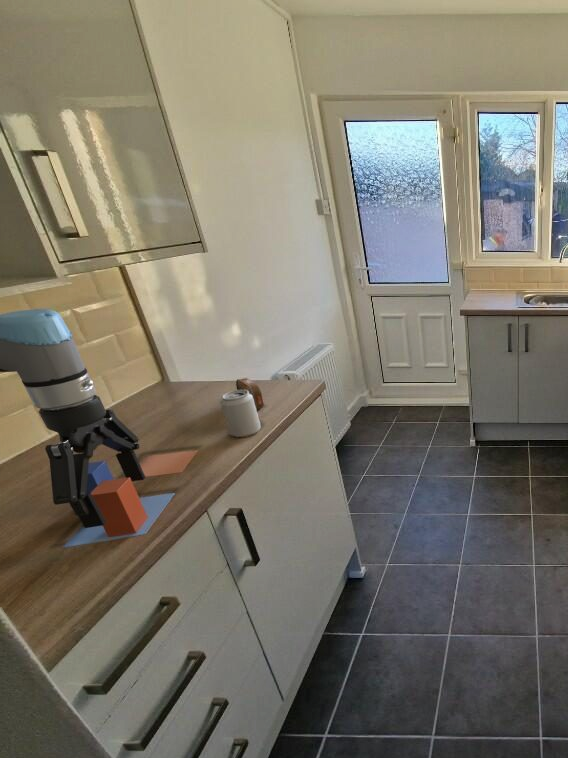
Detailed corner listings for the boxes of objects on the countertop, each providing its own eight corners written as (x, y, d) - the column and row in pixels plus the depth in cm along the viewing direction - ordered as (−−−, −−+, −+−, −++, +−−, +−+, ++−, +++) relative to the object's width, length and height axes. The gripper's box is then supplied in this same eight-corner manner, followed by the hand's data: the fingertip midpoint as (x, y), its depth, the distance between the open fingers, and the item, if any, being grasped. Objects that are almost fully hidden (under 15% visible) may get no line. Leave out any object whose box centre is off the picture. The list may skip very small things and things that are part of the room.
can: (267, 426, 119) (257, 389, 114) (248, 440, 112) (236, 400, 108) (245, 424, 120) (233, 387, 115) (224, 437, 114) (211, 398, 109)
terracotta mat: (122, 481, 96) (121, 480, 96) (144, 457, 105) (144, 456, 104) (182, 473, 99) (181, 471, 99) (199, 451, 108) (198, 449, 107)
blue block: (84, 517, 84) (63, 476, 80) (98, 503, 88) (78, 464, 84) (111, 513, 85) (91, 473, 81) (123, 499, 89) (105, 460, 85)
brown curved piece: (239, 400, 135) (232, 376, 131) (249, 397, 137) (243, 373, 134) (257, 414, 126) (250, 389, 123) (268, 411, 128) (261, 386, 125)
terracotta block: (108, 537, 79) (87, 495, 75) (121, 521, 83) (102, 481, 79) (136, 533, 80) (116, 491, 76) (148, 517, 84) (130, 477, 80)
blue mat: (56, 550, 77) (56, 548, 77) (99, 505, 88) (99, 503, 88) (145, 535, 80) (145, 534, 80) (176, 494, 92) (175, 492, 92)
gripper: (41, 434, 60) (101, 544, 69) (134, 372, 82) (170, 461, 91) (-24, 442, 59) (46, 553, 67) (88, 376, 81) (130, 467, 89)
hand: (118, 501), depth 79 cm, fingers open, 13 cm apart
